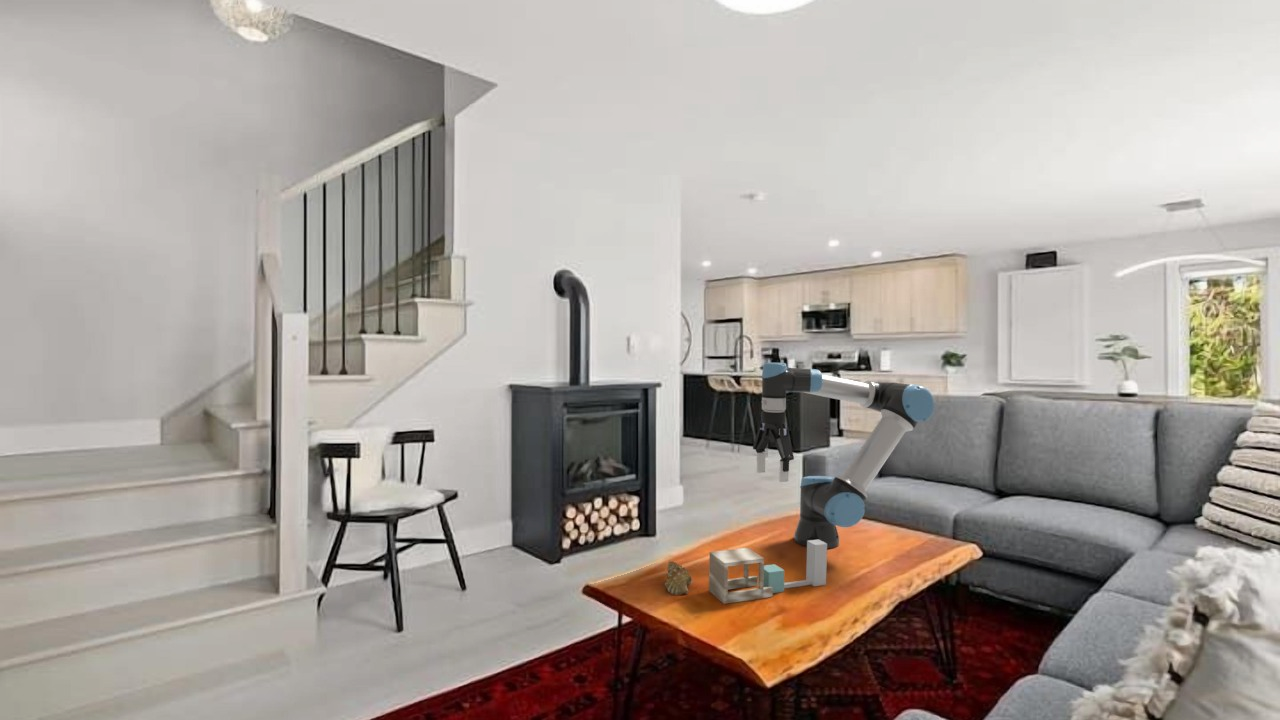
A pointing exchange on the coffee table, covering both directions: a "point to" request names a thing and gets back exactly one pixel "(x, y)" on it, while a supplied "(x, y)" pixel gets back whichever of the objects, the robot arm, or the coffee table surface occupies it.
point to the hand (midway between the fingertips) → (771, 476)
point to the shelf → (722, 583)
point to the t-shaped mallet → (813, 570)
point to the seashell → (677, 579)
